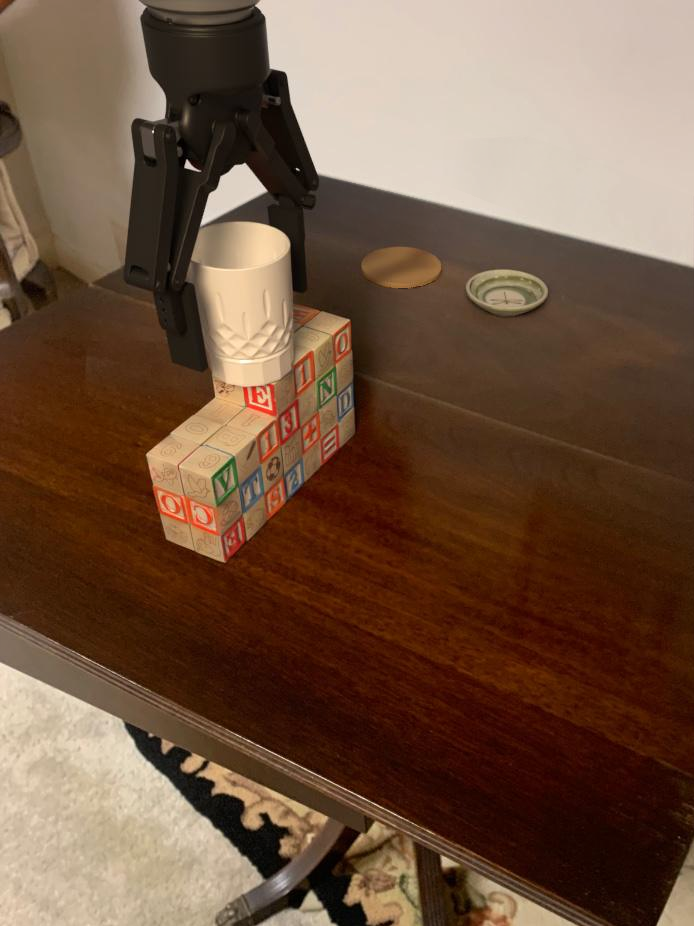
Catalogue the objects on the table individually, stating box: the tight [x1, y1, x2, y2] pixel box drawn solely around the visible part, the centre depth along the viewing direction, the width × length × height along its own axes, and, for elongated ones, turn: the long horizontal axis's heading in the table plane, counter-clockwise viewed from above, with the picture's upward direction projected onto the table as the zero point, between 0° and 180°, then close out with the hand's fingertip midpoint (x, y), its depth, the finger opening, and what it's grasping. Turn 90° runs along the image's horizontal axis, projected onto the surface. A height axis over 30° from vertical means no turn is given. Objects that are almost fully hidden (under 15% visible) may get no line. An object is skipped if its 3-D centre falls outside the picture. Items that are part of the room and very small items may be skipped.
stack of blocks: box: [145, 302, 356, 563], centre depth 76 cm, size 21×6×12 cm, turn 154°
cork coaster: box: [360, 246, 443, 289], centre depth 110 cm, size 10×10×1 cm
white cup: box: [186, 220, 294, 387], centre depth 68 cm, size 8×8×10 cm
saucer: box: [465, 268, 549, 318], centre depth 104 cm, size 10×10×2 cm
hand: (244, 324), depth 69 cm, fingers open, 13 cm apart
